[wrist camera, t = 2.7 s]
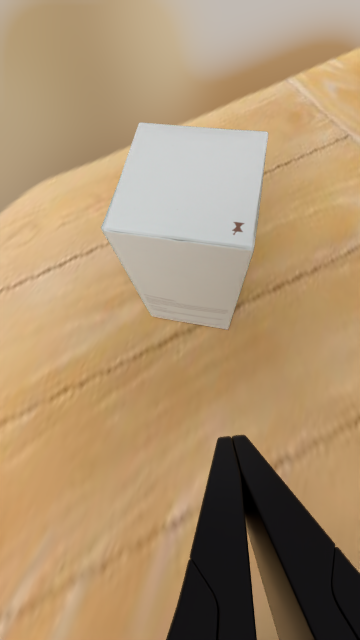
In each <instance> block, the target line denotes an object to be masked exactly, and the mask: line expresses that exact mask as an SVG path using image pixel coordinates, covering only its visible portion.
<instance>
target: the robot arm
mask: <svg viewBox="0 0 360 640" xmlns="http://www.w3.org/2000/svg"><path fill="white" fill-rule="evenodd" d="M246 527H247V530H246ZM247 531H248V534H249V537H250V541H251V544H252V548H253V551H254V555H255V558H256V561H257V565H258V568H259V572H260V575H261V579H262V582H263V585H264V589H265V592H266V596H267V599H268V603H269V606H270V609H271V613H272V616H273V620H274V623H275V627H276V630H277V634H278V637H279V640H360V573H359V572H358V571H357V569H356V568H355V567H354V566H353V565H352V564H351V562H350V561H349V560H348V559H347V558H346V556H345V555H344V554H343V553H342V552H341V550H340V549H339V548H338V547H335V543H334V542H333V541H332V540H331V538H330V537H329V536H328V535H327V534H326V532H325V531H324V530H323V529H322V528H321V526H320V525H319V524H318V523H317V521H316V520H315V519H314V518H313V517H312V515H311V514H310V513H309V512H308V511H307V509H306V508H305V507H304V506H303V504H302V503H301V502H300V501H299V500H298V498H297V497H296V496H295V495H294V494H293V492H292V491H291V490H290V489H289V488H288V486H287V485H286V484H285V483H284V481H283V480H282V479H281V478H280V477H279V475H278V474H277V473H276V472H275V471H274V469H273V468H272V467H271V466H270V464H269V463H268V462H267V461H266V460H265V458H264V457H263V456H262V455H261V454H260V452H259V451H258V450H257V449H256V448H255V446H254V445H253V444H252V443H251V441H250V440H249V439H248V438H247V437H246V436H245V435H236V436H233V437H232V438H231V437H230V436H226V437H219V438H218V439H217V443H216V447H215V452H214V456H213V460H212V464H211V468H210V473H209V477H208V481H207V485H206V490H205V494H204V498H203V502H202V506H201V511H200V515H199V519H198V523H197V527H196V532H195V536H194V540H193V544H192V549H191V553H190V559H189V561H188V565H187V569H186V573H185V577H184V581H183V585H182V588H181V592H180V596H179V600H178V603H177V607H176V610H175V613H174V617H173V620H172V623H171V626H170V629H169V632H168V635H167V639H166V640H257V638H256V627H255V616H254V606H253V595H252V584H251V573H250V562H249V552H248V541H247Z"/></svg>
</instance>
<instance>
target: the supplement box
mask: <svg viewBox="0 0 360 640" xmlns="http://www.w3.org/2000/svg"><path fill="white" fill-rule="evenodd" d="M267 140H268V132H266V131H249V130H233V129H219V128H205V127H191V126H177V125H164V124H152V123H139V124H138V128H137V130H136V133H135V136H134V139H133V142H132V145H131V148H130V151H129V154H128V156H127V159H126V162H125V165H124V168H123V171H122V174H121V177H120V180H119V182H118V185H117V187H116V190H115V193H114V195H113V198H112V200H111V203H110V206H109V208H108V211H107V214H106V216H105V219H104V222H103V224H102V227H101V229H102V231H103V233H104V235H105V236H106V238H107V240H108V241H109V243H110V245H111V246H112V248H113V250H114V251H115V253H116V255H117V257H118V259H119V260H120V262H121V264H122V266H123V267H124V269H125V271H126V273H127V274H128V276H129V278H130V280H131V281H132V283H133V285H134V287H135V289H136V290H137V292H138V294H139V296H140V297H141V299H142V301H143V303H144V304H145V306H146V308H147V309H148V311H149V313H150V315H151V316H153V317H158V318H163V319H169V320H175V321H180V322H186V323H192V324H198V325H204V326H209V327H215V328H221V329H226V330H228V329H229V326H230V323H231V320H232V316H233V313H234V310H235V307H236V304H237V301H238V298H239V295H240V292H241V288H242V285H243V282H244V279H245V276H246V273H247V270H248V267H249V263H250V260H251V257H252V255H253V251H254V246H255V238H256V231H257V223H258V215H259V208H260V200H261V191H262V183H263V174H264V165H265V156H266V148H267Z"/></svg>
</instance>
